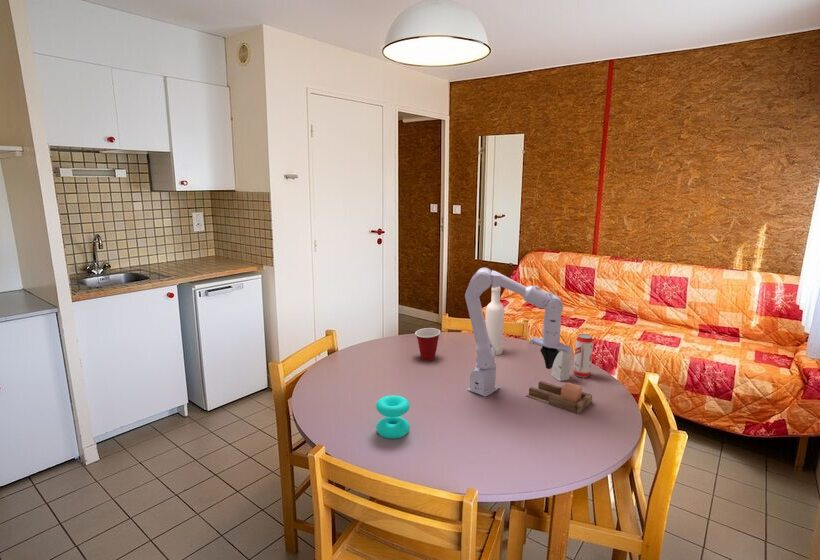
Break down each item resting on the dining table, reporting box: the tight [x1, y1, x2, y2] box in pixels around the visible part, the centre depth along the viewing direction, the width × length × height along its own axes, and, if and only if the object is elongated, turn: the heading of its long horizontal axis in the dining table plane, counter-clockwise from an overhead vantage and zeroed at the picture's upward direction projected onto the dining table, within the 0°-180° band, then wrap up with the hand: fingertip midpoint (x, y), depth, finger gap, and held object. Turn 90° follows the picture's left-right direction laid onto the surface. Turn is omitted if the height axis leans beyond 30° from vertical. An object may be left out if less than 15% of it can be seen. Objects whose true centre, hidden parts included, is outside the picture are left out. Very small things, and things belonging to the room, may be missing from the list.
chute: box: [525, 380, 593, 415], centre depth 164 cm, size 11×19×3 cm, turn 48°
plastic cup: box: [414, 327, 441, 361], centre depth 200 cm, size 11×11×12 cm
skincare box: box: [551, 351, 573, 382], centre depth 181 cm, size 6×4×12 cm
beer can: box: [573, 333, 594, 379], centre depth 183 cm, size 6×6×16 cm
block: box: [560, 382, 583, 403], centre depth 160 cm, size 5×5×6 cm
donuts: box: [375, 394, 410, 439], centre depth 142 cm, size 10×10×10 cm
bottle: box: [485, 287, 505, 356], centre depth 205 cm, size 8×8×30 cm
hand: (549, 367), depth 165 cm, fingers closed
